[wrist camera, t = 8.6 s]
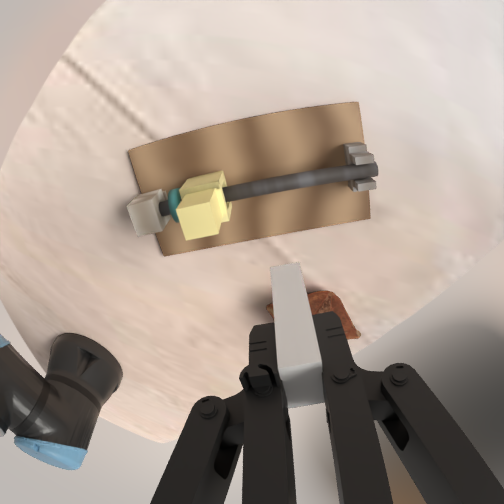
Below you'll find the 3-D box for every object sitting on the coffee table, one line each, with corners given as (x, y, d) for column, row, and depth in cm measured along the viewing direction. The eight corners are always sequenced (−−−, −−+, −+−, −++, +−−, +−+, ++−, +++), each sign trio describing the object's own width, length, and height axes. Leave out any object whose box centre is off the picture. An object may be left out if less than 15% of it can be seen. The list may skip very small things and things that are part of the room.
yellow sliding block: (197, 213, 34) (182, 247, 27) (187, 178, 32) (168, 204, 25) (232, 206, 34) (225, 239, 27) (223, 170, 32) (213, 194, 25)
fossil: (247, 309, 38) (300, 355, 31) (287, 256, 39) (347, 291, 31) (293, 337, 47) (338, 373, 39) (325, 294, 47) (374, 325, 40)
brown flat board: (165, 254, 38) (154, 276, 34) (129, 149, 32) (110, 159, 27) (368, 216, 36) (384, 235, 31) (356, 101, 29) (374, 103, 24)
